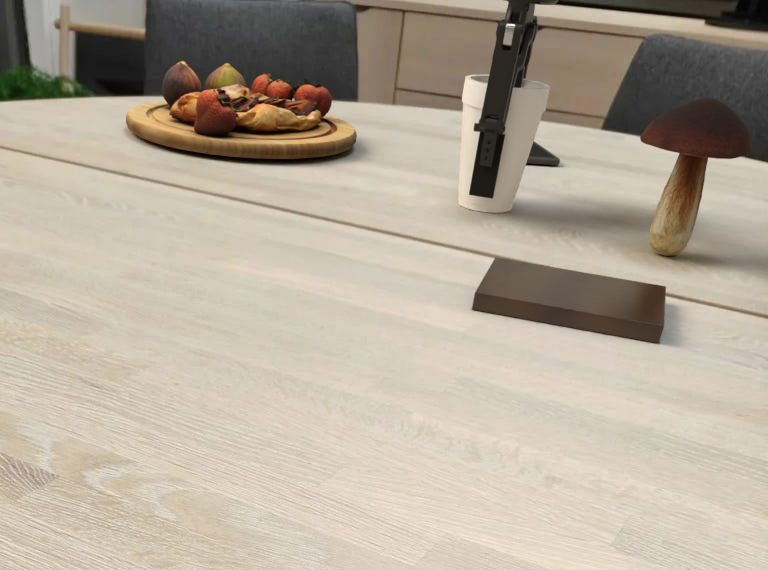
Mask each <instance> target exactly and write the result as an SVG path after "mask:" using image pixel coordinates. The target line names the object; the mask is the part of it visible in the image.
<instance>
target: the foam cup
mask: <svg viewBox="0 0 768 570" xmlns="http://www.w3.org/2000/svg"><path fill="white" fill-rule="evenodd" d="M488 79H489V74H469V75H465V76H464V82H463V89H462V95H461V103H462V117H461V118H462V119H461V138H460V139H461V140H460V158H459V176H458V177H459V178H458V201H457V202H458V203H457V204H458V205H459V206H461V207H463V208H465V209H468V210H472V211H474V212H475V211H476V212H481V213H491V214H492V213H493V214H499V213H507V212H510V211H511V210H512V207H513V204H514V202H515V199H516V196H517V194H518V193H517V192H518V190H519V187H520V184H521V180H522V178H523V174H524V171H525V168H526V166H527V164H528V163H527V160H528V156H529V153H530V150H531V147H532V144H533V141H534V142H535V139H536V135H537V132H538V129H539V126H540V123H541V120H542V117H543V113H544V112H546V109H547V105H548V100H549V96H550V91H551V87H550V85H549V84H547V83H545V82H541V81H537V80H532V79H527V78H526V79H523V80H522V85H521V88H515V87H514V88H513V90H512V95H511V100H510V106H509V111H508V116H507V120H506V124H505V127H506V128H505V132H504V133H503V134H505V139H504V144H503V149H502V154H501V159H500V165H499V170H498V175H497V180H496V186H495V191H494V196H493V198H485V197H479V196H473V195H469V191H470V185H471V180H472V174H473V169H474V163H475V157H476V152H477V146H478V140H479V135H480V132H476V131H474V124H475V123H478V124H479V119H480V118H481V113H482V109H483V104H484V99H485V94H486V89H487V84H488ZM495 118H498V117H495Z"/></svg>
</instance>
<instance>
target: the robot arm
mask: <svg viewBox="0 0 768 570" xmlns="http://www.w3.org/2000/svg"><path fill="white" fill-rule="evenodd" d="M504 1H506V2H507V3H508V4H507V8H506V11H505V16H504V18H502V19H501V20H498V22H497V26H496V29H495V45H494V49H493V54H492V57H491V58H492V59H491V65H490V70H489V74H488V75H489V79H488V84H487V89H486V94H485V99H484V104H483V109H482V113H481V118H480V119H479V124H478V123H475V124H474V131H476V132H480V135H479V140H478V146H477V152H476V157H475V163H474V169H473V174H472V180H471V185H470V191H469V195H473V196H479V197H485V198H493V196H494V191H495V186H496V180H497V175H498V170H499V165H500V159H501V154H502V149H503V144H504V139H505V134H503V133H504V132H505V128H506V127H505V124H506V120H507V116H508V111H509V106H510V100H511V95H512V90H513V88H514V87H515V88H521V85H522V80H523V79H527V75H528V68H529V63H530V60H531V57H532V53H533V46H534V42H535V39H536V37H537V34H538V30H539V29H538V28H539V23H538V16H537V15H535V10H536V5H540V6H554V5H556V4H557V3H558V2H559V1H560V0H504ZM495 117H498V118H495Z"/></svg>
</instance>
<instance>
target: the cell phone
mask: <svg viewBox="0 0 768 570" xmlns="http://www.w3.org/2000/svg"><path fill="white" fill-rule="evenodd" d="M560 162H561V159H560V158H559V157H558V156H556V155H555V154H553V152H551V151H549V150H548V149H546V148H545V147H543V146H542V145H540V144H539V143H537V142H536V141H535V140H534V141H533V144H532V147H531V150H530V153H529V156H528V160H527V163H526V164H534V165H548V166H559V164H560Z"/></svg>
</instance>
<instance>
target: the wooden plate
mask: <svg viewBox="0 0 768 570" xmlns="http://www.w3.org/2000/svg"><path fill="white" fill-rule="evenodd" d="M291 83H292V82H291V80H290V79H288V80H285V81H284V80H283V79H280V78H279V79H276V80H275V79H273V77H272V73H267V72H263V73H262V74H261V75H257V77H256V78H255V79H254V80H253V81H252V84H251V88H249V87H247V82H246V80H245V78H244V76H243V75H242V74H241V73H240V72H239V71H238V70H236V69H235V68H234V67H233V66H231V64H230V63H229V62H226V63H223V65H221V66H219V67H218V68H215V69H214V71H212V72H211V73H210V74H209V75H208V76H207V78H206V80H205V82H204V86H203V88H202V83H201V81H200V79H199V77H198V75H197V74H196V73H195V71H194V70H193V69H192V67H190V66H189V65H188V64H187V62H186V61H185V60H181V61H179V62H176V63H175V64H174V65H172V66H171V67H170V68H168V70H167V72H166V73H165V76H164V78H163V80H162V84H161V94H162V97H163V99H164V100H159V101H151V102H145V103H142V104H138V105H135V106H133V107H131V108H130V109H129V110H128V111H127V112H126V115H125V124H126V126H127V128H128V130H129V131H130V132H131V133H133V134H134V135H135V136H137V137H139V138H141V139H142V140H146V141H148V142H151V143H154V144H157V145H160V146H165V147H169V148H172V149H177V150H183V151H188V152H195V153H199V154H200V153H201V154H207V155H213V156H222V157H223V156H224V157H233V158H244V159H245V158H246V159H263V160H265V159H266V160H296V159H311V158H321V157H329V156H335V155H338V154H341V153H344V152H346V151H348V150H350V149H351V148H352V147H354V145H355V144H356V142H357V137H358V134H357V130H356V129H355V127H354V126H353V125H352V124H351V123H349V122H347V121H345V120H344V119H341V118H338V117H335V116H333V115H330V114H328V113H329V112H330V110H331V108H332V104H333V97H332V94H331V92H330V91H329V89H328V88H326V87H325V86H322V84H320V83H318V84H316V85H311V82H310V81H309V79H308V78H305V77H303V84H302V85H300V84H298V83H296V85H295V86H291ZM202 89H203V91H202ZM293 98H294V100H293Z"/></svg>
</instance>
